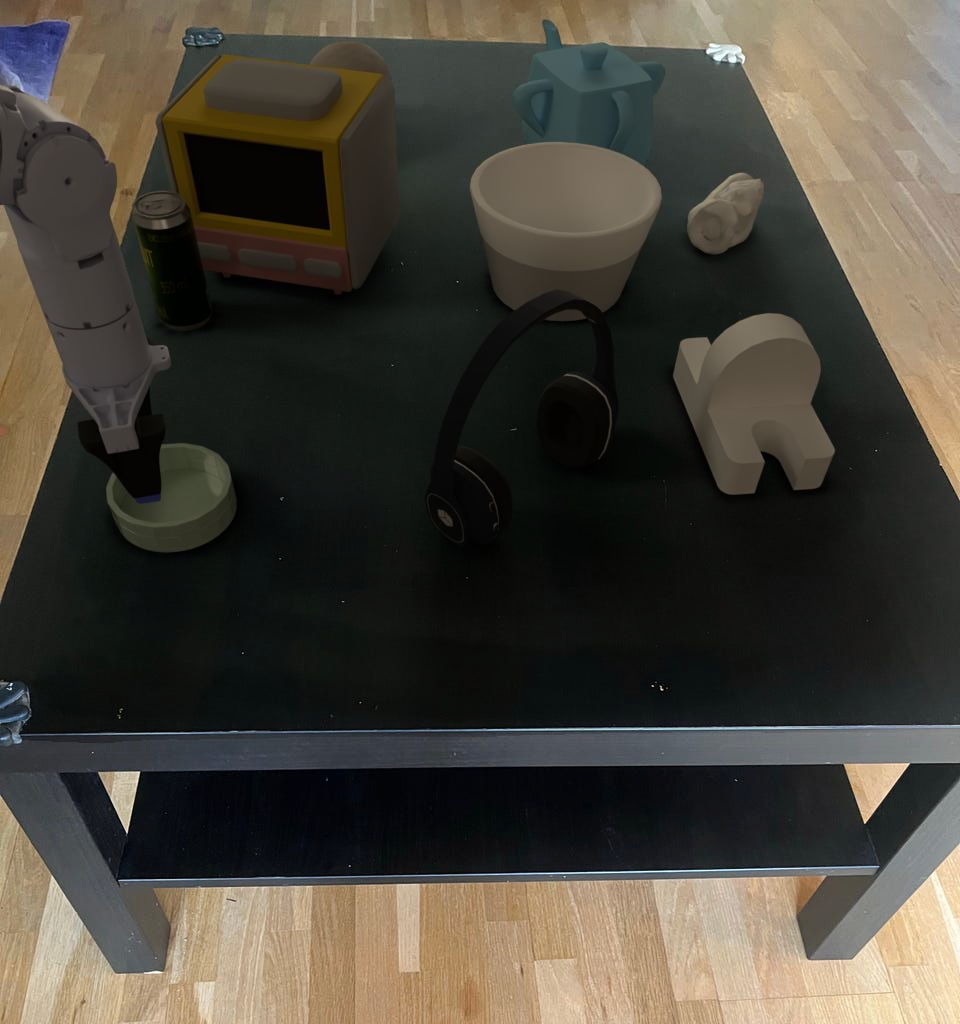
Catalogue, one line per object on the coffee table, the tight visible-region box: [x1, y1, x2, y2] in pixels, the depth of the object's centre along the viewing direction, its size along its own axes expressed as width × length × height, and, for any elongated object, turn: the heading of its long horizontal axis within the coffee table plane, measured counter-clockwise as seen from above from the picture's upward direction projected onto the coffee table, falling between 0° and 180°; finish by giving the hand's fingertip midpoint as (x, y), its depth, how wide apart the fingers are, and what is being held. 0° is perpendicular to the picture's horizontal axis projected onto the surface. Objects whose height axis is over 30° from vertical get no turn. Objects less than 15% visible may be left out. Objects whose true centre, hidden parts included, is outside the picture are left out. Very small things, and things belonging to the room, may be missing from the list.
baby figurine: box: [686, 172, 765, 255], centre depth 109 cm, size 9×12×8 cm
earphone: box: [424, 289, 620, 547], centre depth 76 cm, size 20×7×18 cm, turn 137°
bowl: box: [469, 142, 663, 322], centre depth 100 cm, size 19×19×11 cm
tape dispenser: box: [672, 312, 836, 496], centre depth 86 cm, size 10×18×11 cm, turn 7°
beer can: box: [131, 190, 213, 332], centre depth 94 cm, size 5×5×12 cm
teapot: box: [512, 18, 666, 168], centre depth 115 cm, size 18×16×14 cm
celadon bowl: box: [105, 442, 238, 553], centre depth 80 cm, size 10×10×3 cm
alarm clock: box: [155, 53, 401, 295], centre depth 98 cm, size 20×16×18 cm
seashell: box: [308, 40, 393, 83], centre depth 120 cm, size 15×14×15 cm
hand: (142, 464), depth 72 cm, fingers closed on eraser, 6 cm apart
